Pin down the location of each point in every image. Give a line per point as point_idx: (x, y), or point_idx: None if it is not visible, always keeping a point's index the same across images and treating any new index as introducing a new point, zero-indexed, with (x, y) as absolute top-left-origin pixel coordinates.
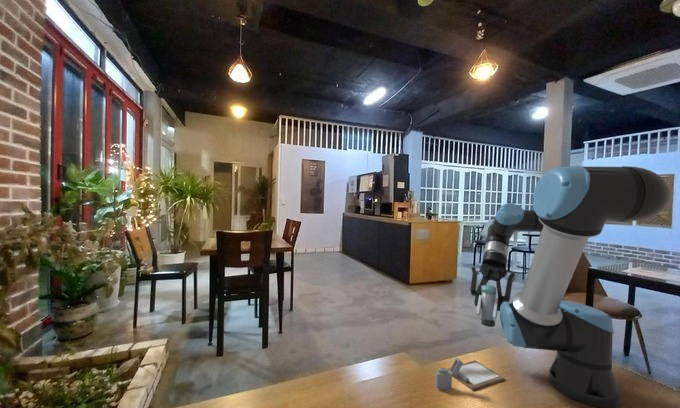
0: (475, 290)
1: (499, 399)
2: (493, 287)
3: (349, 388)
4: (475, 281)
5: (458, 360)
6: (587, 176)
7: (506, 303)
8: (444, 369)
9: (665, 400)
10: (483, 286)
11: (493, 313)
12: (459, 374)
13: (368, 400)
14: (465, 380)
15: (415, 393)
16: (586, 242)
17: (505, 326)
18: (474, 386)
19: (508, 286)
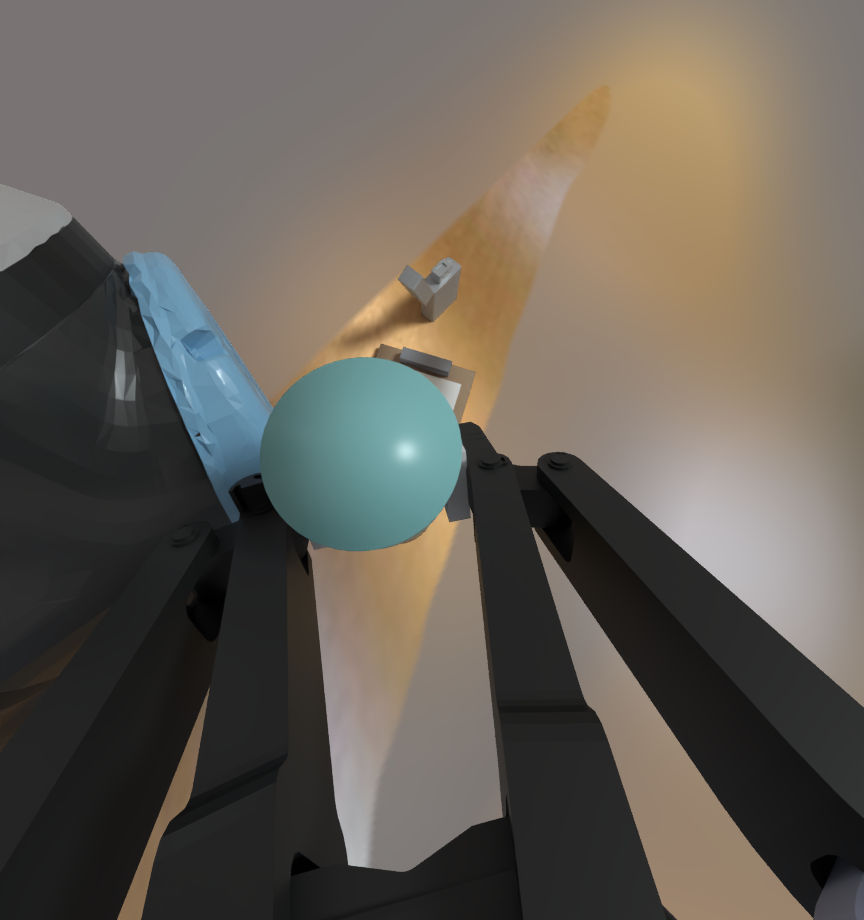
0: (558, 560)
1: (321, 364)
2: (301, 480)
3: (573, 165)
4: (628, 576)
5: (408, 266)
6: None
7: (160, 315)
8: (440, 270)
9: None
10: (425, 415)
11: None
12: (427, 356)
13: (520, 166)
14: (405, 348)
15: (471, 245)
16: None
17: (260, 392)
18: (382, 356)
19: (75, 698)
